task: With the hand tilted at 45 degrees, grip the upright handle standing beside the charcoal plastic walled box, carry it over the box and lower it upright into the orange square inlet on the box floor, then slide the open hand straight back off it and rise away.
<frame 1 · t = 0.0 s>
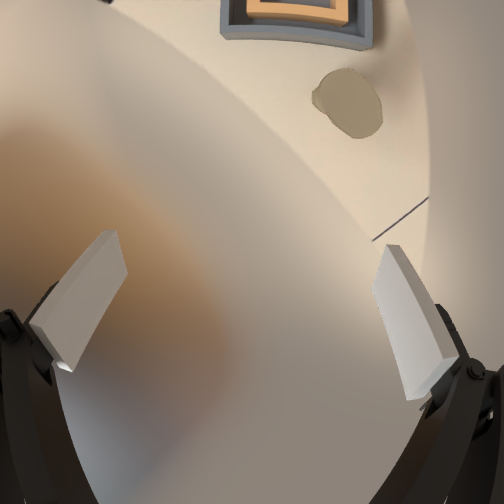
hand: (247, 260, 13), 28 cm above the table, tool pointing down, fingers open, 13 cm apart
handle: (322, 98, 32), on the table
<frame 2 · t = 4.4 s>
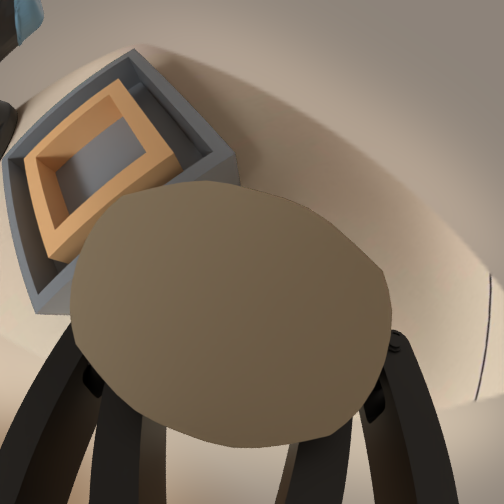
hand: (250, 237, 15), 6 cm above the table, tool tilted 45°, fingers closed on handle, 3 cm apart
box: (105, 176, 22), on the table
handle: (249, 309, 20), on the table, touching gripper
when the fingers open (7 cm above the table, at t = 10.2 s): handle stays where it is, resting on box.
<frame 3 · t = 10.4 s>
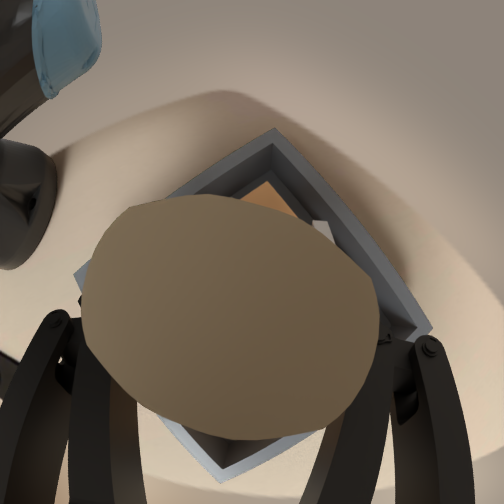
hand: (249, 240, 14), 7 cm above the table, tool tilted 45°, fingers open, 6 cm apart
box: (250, 309, 21), on the table
handle: (249, 310, 20), point 1 cm above the table, touching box
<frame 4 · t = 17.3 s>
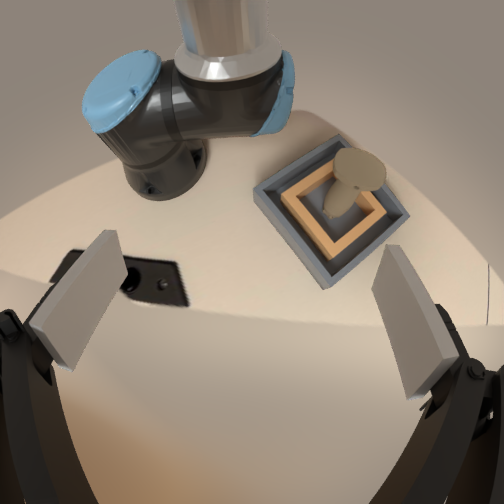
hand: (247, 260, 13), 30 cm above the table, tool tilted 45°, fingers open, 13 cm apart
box: (330, 212, 44), on the table
handle: (331, 211, 43), point 1 cm above the table, touching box
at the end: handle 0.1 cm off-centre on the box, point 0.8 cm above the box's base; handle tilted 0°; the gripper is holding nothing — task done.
